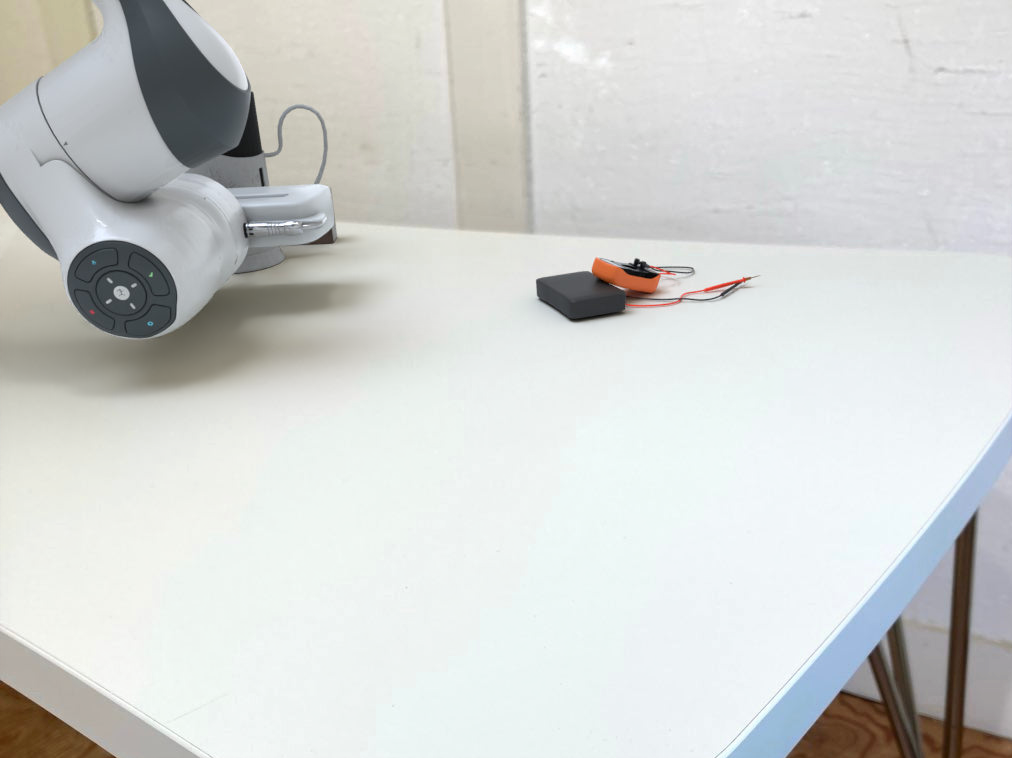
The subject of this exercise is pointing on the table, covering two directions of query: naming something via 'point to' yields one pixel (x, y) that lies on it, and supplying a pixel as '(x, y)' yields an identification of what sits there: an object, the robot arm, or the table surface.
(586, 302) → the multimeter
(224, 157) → the glass holder
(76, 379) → the table surface
